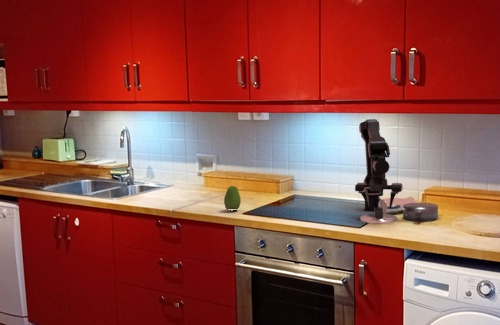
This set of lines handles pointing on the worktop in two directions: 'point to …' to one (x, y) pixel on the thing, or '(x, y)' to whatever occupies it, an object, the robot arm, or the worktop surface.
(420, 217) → the pot
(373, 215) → the lid
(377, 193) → the robot arm
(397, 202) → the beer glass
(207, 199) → the worktop surface
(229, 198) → the avocado
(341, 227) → the worktop surface
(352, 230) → the worktop surface
